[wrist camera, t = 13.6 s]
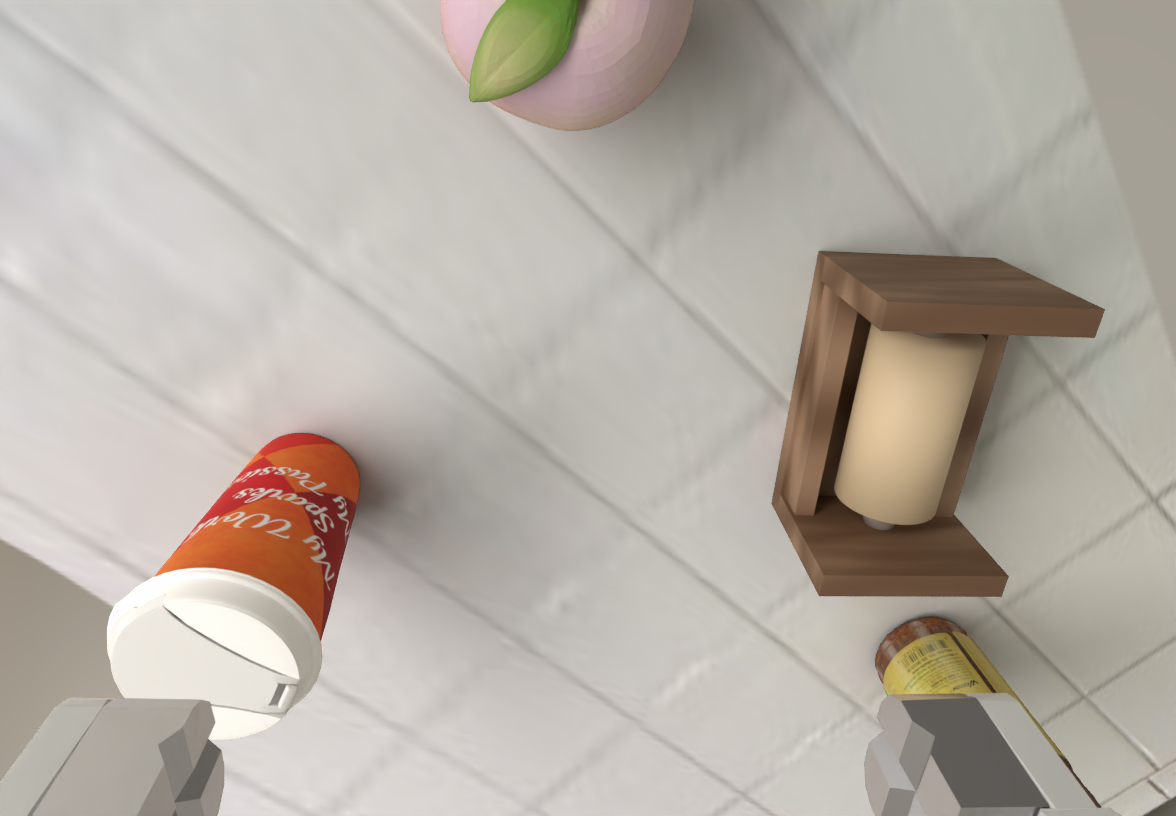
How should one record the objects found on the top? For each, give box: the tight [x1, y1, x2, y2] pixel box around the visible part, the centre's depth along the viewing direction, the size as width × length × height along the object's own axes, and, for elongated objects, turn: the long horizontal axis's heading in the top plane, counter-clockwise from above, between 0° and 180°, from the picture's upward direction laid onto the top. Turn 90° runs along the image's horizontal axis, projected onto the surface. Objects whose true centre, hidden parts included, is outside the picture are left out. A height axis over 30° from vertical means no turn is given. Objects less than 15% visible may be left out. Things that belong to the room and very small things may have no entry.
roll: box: [834, 323, 987, 525], centre depth 37 cm, size 9×5×5 cm, turn 177°
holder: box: [772, 251, 1105, 597], centre depth 37 cm, size 14×9×8 cm, turn 177°
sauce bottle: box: [875, 617, 1101, 808], centre depth 40 cm, size 6×6×20 cm
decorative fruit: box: [441, 0, 694, 131], centre depth 27 cm, size 9×8×10 cm
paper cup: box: [107, 433, 360, 739], centre depth 34 cm, size 8×8×14 cm
